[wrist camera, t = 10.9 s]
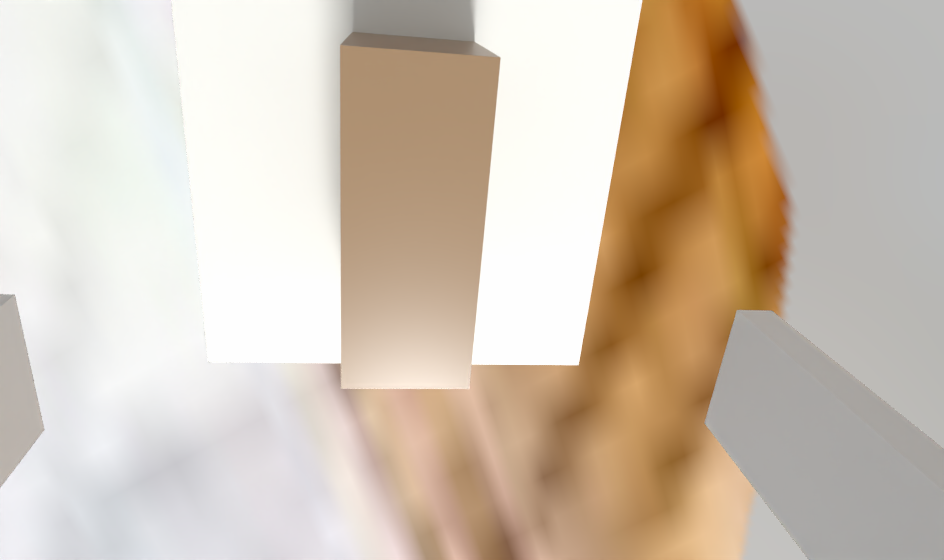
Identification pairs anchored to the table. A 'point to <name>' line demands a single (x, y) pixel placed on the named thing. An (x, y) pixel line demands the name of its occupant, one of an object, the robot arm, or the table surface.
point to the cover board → (299, 166)
